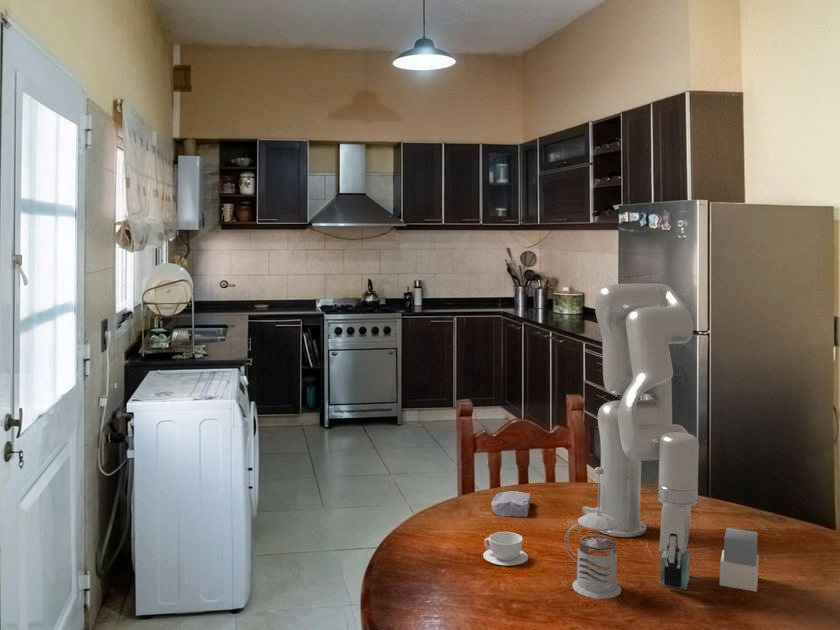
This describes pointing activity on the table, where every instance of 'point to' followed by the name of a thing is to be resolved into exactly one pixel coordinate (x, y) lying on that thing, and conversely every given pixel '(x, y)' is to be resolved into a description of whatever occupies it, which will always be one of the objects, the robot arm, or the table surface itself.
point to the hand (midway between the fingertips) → (675, 577)
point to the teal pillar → (684, 564)
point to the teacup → (505, 549)
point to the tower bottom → (739, 575)
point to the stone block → (511, 503)
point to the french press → (596, 578)
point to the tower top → (740, 546)
